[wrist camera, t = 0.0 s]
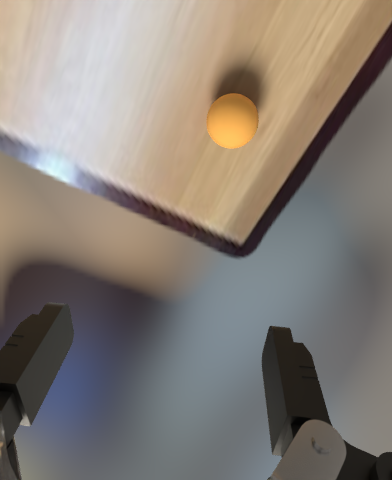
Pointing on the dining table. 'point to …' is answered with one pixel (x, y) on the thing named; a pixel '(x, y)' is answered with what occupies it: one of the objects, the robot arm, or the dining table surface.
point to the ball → (232, 120)
